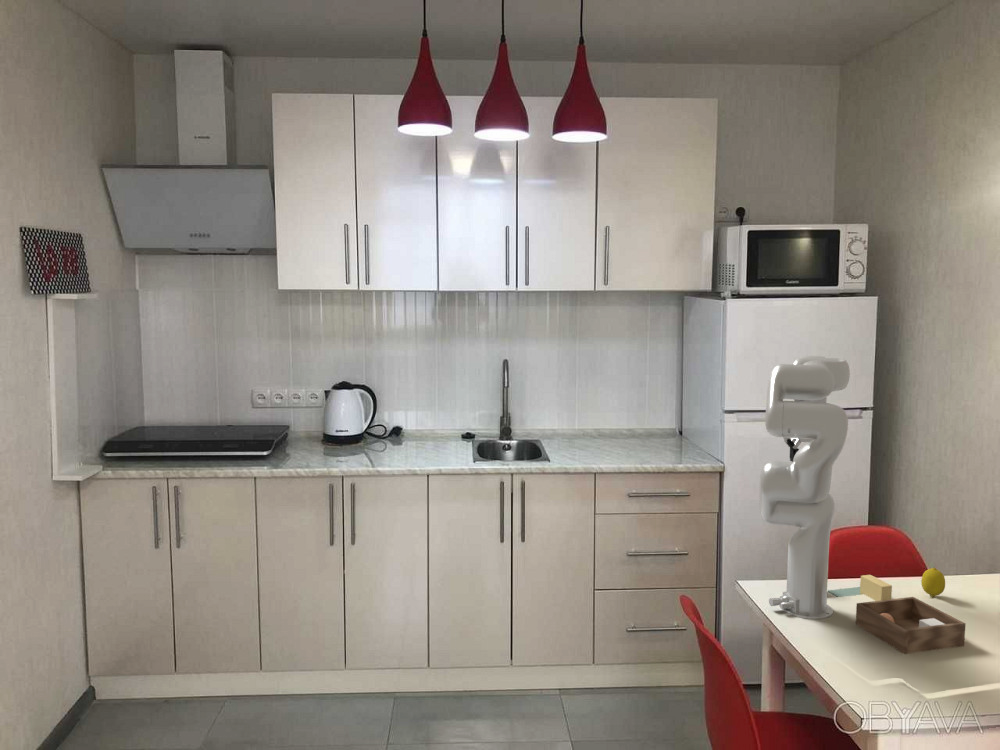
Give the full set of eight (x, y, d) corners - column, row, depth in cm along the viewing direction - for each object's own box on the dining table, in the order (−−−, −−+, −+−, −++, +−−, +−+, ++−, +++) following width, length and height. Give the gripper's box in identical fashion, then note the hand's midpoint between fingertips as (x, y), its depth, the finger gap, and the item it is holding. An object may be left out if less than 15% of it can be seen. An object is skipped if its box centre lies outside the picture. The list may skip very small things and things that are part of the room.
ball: (883, 634, 185) (884, 617, 184) (871, 627, 189) (872, 611, 188) (898, 632, 186) (898, 616, 185) (886, 625, 190) (886, 609, 189)
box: (903, 657, 175) (905, 631, 175) (855, 627, 191) (856, 603, 190) (963, 648, 179) (965, 623, 178) (911, 620, 194) (913, 596, 194)
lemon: (915, 595, 210) (917, 566, 209) (930, 591, 212) (931, 562, 212) (935, 602, 205) (936, 572, 204) (949, 598, 207) (951, 569, 207)
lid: (869, 618, 197) (870, 595, 196) (827, 593, 213) (828, 572, 212) (925, 611, 201) (926, 589, 200) (880, 588, 217) (881, 567, 216)
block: (931, 643, 180) (932, 627, 179) (918, 636, 184) (919, 619, 183) (946, 641, 181) (947, 625, 180) (932, 634, 185) (933, 618, 184)
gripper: (792, 403, 213) (790, 465, 215) (847, 401, 217) (845, 462, 219) (776, 399, 221) (774, 459, 223) (830, 397, 225) (828, 456, 227)
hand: (809, 460), depth 221 cm, fingers open, 9 cm apart
